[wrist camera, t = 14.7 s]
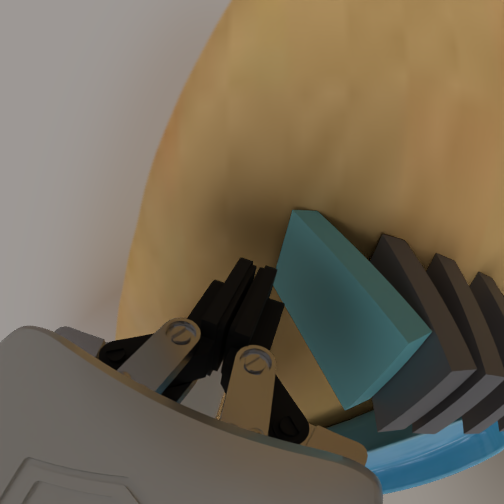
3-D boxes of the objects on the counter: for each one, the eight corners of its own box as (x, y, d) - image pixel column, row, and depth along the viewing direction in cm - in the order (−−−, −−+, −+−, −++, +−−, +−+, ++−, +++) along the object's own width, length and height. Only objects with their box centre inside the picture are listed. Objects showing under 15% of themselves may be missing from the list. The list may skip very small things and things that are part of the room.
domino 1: (404, 240, 14) (477, 369, 6) (371, 303, 17) (404, 429, 9) (382, 233, 14) (451, 371, 6) (350, 300, 16) (377, 432, 9)
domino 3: (492, 277, 13) (541, 381, 5) (455, 329, 15) (479, 433, 8) (478, 271, 13) (530, 380, 5) (441, 325, 16) (463, 434, 8)
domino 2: (454, 260, 13) (506, 377, 6) (418, 318, 16) (435, 434, 8) (436, 253, 13) (486, 374, 6) (400, 312, 16) (412, 433, 9)
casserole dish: (489, 316, 14) (515, 389, 8) (527, 391, 16) (537, 433, 10) (245, 437, 35) (230, 474, 29) (340, 471, 36) (333, 502, 30)
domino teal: (317, 210, 15) (432, 331, 8) (293, 280, 17) (370, 398, 11) (292, 209, 14) (408, 343, 7) (271, 282, 17) (344, 410, 10)
